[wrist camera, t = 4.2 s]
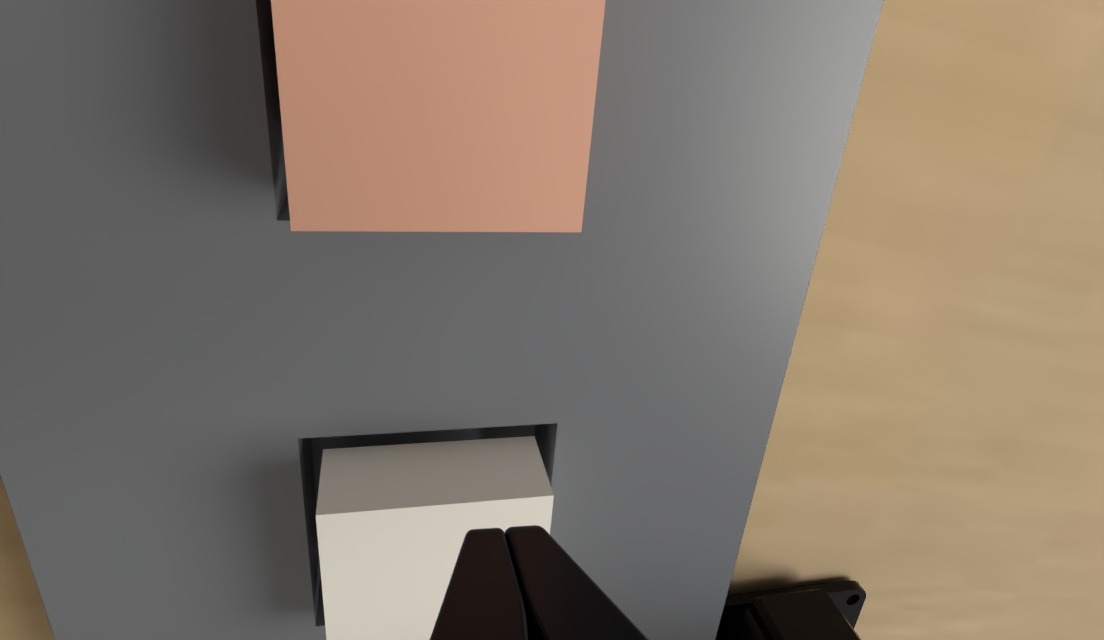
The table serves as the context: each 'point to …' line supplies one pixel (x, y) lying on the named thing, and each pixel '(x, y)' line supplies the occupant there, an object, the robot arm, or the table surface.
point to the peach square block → (437, 113)
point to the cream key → (414, 525)
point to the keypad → (392, 310)
